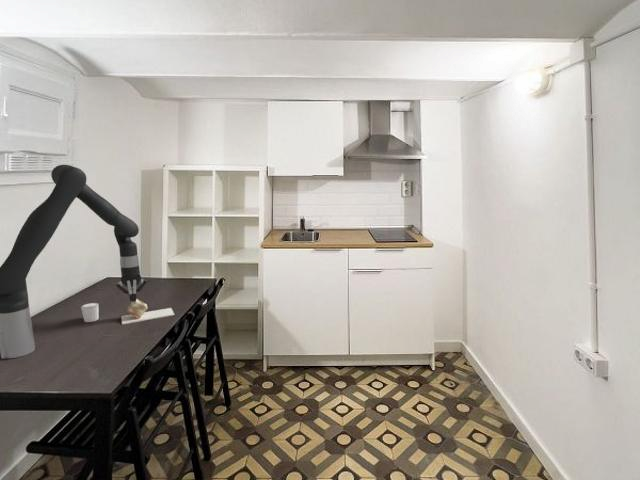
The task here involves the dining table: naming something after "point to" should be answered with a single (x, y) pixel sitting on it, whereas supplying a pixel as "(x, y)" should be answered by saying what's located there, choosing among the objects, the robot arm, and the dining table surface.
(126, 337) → the dining table surface
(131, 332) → the dining table surface
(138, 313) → the maple cube
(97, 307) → the white cup
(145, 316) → the mat
